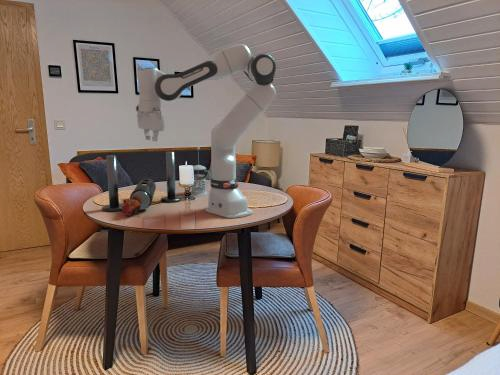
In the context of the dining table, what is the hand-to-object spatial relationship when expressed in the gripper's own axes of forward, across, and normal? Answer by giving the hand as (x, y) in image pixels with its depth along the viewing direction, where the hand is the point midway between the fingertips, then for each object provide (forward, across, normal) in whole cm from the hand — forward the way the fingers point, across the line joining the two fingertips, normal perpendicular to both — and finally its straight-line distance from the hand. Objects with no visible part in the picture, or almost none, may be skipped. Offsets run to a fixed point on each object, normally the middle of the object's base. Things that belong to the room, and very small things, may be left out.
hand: (151, 140), depth 155 cm
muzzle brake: (+32, +11, 0) cm, 33 cm away
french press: (+31, +17, -34) cm, 49 cm away
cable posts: (+31, +11, 0) cm, 33 cm away
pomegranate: (+31, -3, +11) cm, 33 cm away
